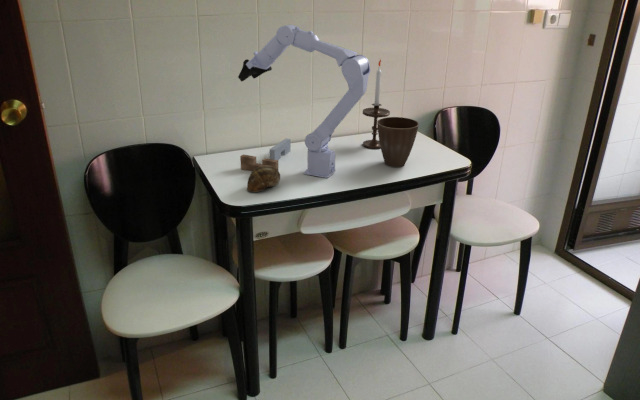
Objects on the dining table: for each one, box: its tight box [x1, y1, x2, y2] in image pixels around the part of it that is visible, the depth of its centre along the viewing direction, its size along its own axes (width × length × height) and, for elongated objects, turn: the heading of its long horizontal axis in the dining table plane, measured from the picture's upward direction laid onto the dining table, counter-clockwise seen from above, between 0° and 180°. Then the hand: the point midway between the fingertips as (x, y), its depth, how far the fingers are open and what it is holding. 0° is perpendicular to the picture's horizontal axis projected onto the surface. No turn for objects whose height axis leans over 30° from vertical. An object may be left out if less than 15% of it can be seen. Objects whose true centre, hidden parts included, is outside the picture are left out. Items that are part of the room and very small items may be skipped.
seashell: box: [246, 165, 281, 193], centre depth 167 cm, size 11×9×8 cm
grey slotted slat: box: [269, 138, 292, 161], centre depth 195 cm, size 14×2×5 cm, turn 158°
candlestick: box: [362, 59, 391, 150], centre depth 203 cm, size 11×11×35 cm
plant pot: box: [377, 116, 420, 168], centre depth 189 cm, size 15×15×16 cm
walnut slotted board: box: [239, 154, 279, 172], centre depth 181 cm, size 14×2×5 cm, turn 68°
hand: (246, 77), depth 179 cm, fingers open, 7 cm apart
